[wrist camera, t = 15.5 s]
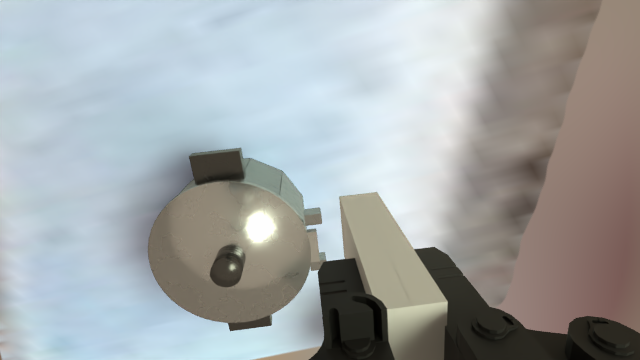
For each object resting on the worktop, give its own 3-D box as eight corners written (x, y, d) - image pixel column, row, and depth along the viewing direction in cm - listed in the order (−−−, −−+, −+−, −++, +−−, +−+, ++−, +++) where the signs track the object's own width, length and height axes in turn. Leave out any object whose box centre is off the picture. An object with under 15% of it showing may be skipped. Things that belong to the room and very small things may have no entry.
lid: (131, 190, 33) (111, 204, 30) (309, 169, 34) (310, 181, 30) (172, 326, 39) (160, 353, 35) (325, 306, 39) (328, 331, 36)
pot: (163, 144, 41) (128, 165, 33) (309, 128, 42) (313, 144, 33) (201, 294, 48) (181, 342, 40) (326, 278, 49) (332, 322, 40)
